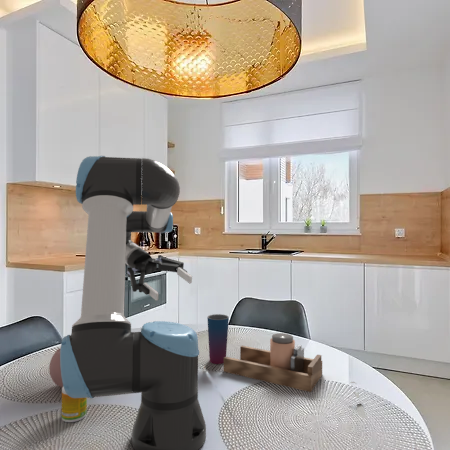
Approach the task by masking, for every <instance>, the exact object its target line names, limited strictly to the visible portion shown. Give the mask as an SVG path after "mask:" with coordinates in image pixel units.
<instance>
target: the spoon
mask: <svg viewBox="0 0 450 450" xmlns="http://www.w3.org/2000/svg"><path fill="white" fill-rule="evenodd" d="M349 384H357V382H355V381H351V382H350V383H349ZM353 394H354V395H355V397H356V398H360V395H359V394H360V392H355V391H353ZM356 406H357V416H358V415H359V416H360V417H363V418H365V417H366V416H367V413H366V411H365V409H364V407H363V404H362V403H357V404H356ZM365 415H366V416H365Z"/></svg>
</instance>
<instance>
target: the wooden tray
mask: <svg viewBox="0 0 450 450" xmlns="http://www.w3.org/2000/svg"><path fill="white" fill-rule="evenodd" d="M239 350H240V351H239V352H240V354H239V355H240V357H239V359H238V358H234V357H230V356H226V357H224V363H223V372H224V373H228V374H232V375H236V376H241V377H245V378H250V379H253V380H257V381H261V382H262V381H263V382H266V383H270V384H274V385H279V386H282V387H287V388H290V389H291V388H292V389H297V390H300V391H305V392H309V393H312V391H313V390H314V388H315V386H316V385H317V384H318V382H319V381H320V380H321V377H322V376H323V360H322V355H321V354H316V355H315V357H314V358H310V357H305V356H304V372H303V373H301V372H296V371H291V370H287V369H282V368H277V367H272V366H270V350H268V349H263V348H256V347H252V346H247V345H240V348H239Z"/></svg>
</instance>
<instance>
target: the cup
mask: <svg viewBox="0 0 450 450" xmlns="http://www.w3.org/2000/svg"><path fill="white" fill-rule="evenodd" d="M229 318H230V317H229V316H228V315H227V314H221V313H217V314H216V313H214V314H210V315H208V316H207V333H208V350H209V351H208V354H209V355H208V356H209V363H211V364H214V365H221V364H222V365H224V357H227V347H228V334H229V321H230V320H229Z"/></svg>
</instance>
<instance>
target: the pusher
mask: <svg viewBox="0 0 450 450" xmlns="http://www.w3.org/2000/svg"><path fill="white" fill-rule="evenodd" d="M304 357H305V348H304V347H302V345H301V344H297V345H295V348H294V355H293V356H292V357H291V371H296V372H301V373H303V372H304Z"/></svg>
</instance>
